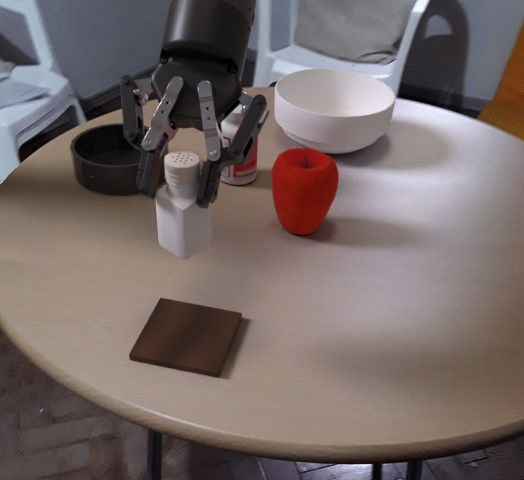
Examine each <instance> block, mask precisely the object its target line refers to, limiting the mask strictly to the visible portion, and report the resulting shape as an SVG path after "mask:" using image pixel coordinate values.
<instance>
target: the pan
mask: <svg viewBox="0 0 524 480" xmlns="http://www.w3.org/2000/svg"><path fill="white" fill-rule="evenodd" d="M149 128H150V126H147V125H144V133H145V135H146V133H147V131H148V130H149ZM69 150H70V157H71V162H72V168H73V173H74V175H75V179H76V181H77V182H78V184H79V185H80V186H82V188H84V189H87V190H88V191H91V192H94V193H97V194H101V195H106V196H131V195H138V194H141V190H140V189H139V188H138V187H137V182H136V180H137V175H138V171H139V165H140V160H141V151H140V150H137V149H135V148H134V147H133V146H132V145H131V144H130V143H129V142H128V141H127V140H126V139H125V137H124V129H123V122H121V123H120V122H113V123H106V124H100V125H97V126H93V127H90V128H87V129H85V130H83V131H81V132H79V133H78V134H76V136H74V137H73V138H72V140H71V142H70V145H69ZM168 153H170V152H169V144H168V145H167V147H166V148H165V150H164V152H163V154H162V156H161V157H160V160H161V161H162V165H161V170H160V175H159V180H158V185H157V188H158V187H159V186H161V185H163V183H164V182H166V180H165V165H164V159H165V156H166V155H167V154H168Z"/></svg>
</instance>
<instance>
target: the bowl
mask: <svg viewBox="0 0 524 480" xmlns="http://www.w3.org/2000/svg"><path fill="white" fill-rule="evenodd" d="M396 98H397V97H396V95H395V91H394V90H393V88H392V87H390V86H389V85H388V84H387V83H385V82H384V81H382V80H380V79H378V78H377V77H374V76H371V75H369V74H366V73H362V72H358V71H353V70H347V69H341V68H330V67H329V68H328V67H327V68H325V67H324V68H317V67H316V68H308V69H307V68H306V69H301V70H296V71H293V72H289V73H287V74H286V75H284V76H282V77H281V78H279V79H278V80H277V81H276V84H275V85H274V120H275V121H276V123H277V124H278V125H279V126H280V127H281V129H282V131H283V133H284V134H285V135H286V136H287V137H289V138H290V139H292V140H293V141H294V142H296V143H297V144H298V145H300V146H302V147H303V148H307V149H313V150H317V151H320V152H322V153H324V154H334V155H335V154H336V155H338V154H339V155H340V154H348V153H349V154H350V153H353V152H357V151H358V150H361V149H364V148H366V147H368V146H370V145H372V144H374V143H375V142H377V140H379V138H381V137H382V136H384V135H385V134H386V133H387V132H388V130H389V129H390V125H391V121H392V118H393V114H394V109H395V105H396V100H397V99H396Z"/></svg>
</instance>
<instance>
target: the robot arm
mask: <svg viewBox="0 0 524 480" xmlns="http://www.w3.org/2000/svg"><path fill="white" fill-rule="evenodd" d="M256 6H257V0H169V5H168V10H167V17H166V21H165V25H164V31H163V37H162V40H161V45H160V46H161V47H160V51H159V61H158V63H157V65H156V68H155V69H154V70H153V71H152V73H151V75H150V77H144V78H138V79H137V78H136V79H134V78H133V77H132V76H131V75H129V74H125V75H123V76H122V77H120V79H119V80H120V81H119V87H120V88H119V89H120V101H121V112H122V113H121V115H122V123H123V129H124V137H125V139H126V140H127V141H128V142H129V143H130V144H131V145H132V146H133V147H134V148H135V149H137V150H140V151H141V160H140V165H139V171H138V175H137V180H136V182H137V187H138V188H139V189H140V190H141V193H140V194H141V196H143V197H144V198H145V199H148V200H155V199H156V197H155V195H156V193H157V191H158V190H157V189H158V187H157V185H158V180H159V175H160V170H161V165H162V161H161V160H160V157H161V156H162V154H163V152H164V150H165V148H166V147H167V145H168V146H169V143H170V142H171V140H173V139H174V138H175V137H176V135H177V133H178V131H179V129H195V130H197V131H199V132H203V135H204V139H205V140H204V141H205V142H204V143H205V151H206V161H205V160H202V166H201V169H200V180H199V185H198V190H197V195H196V204H197V205H198V206H199V207H200V208H205V209H207V208H208V206H209V203H211V204H215V202H216V200H217V199H218V195H219V187H220V184H221V180H220V178H221V173H222V170H223V169H224V168H225V167H227V166H230V165H236V166H241V165H243V164H244V163H245V161H246V159H247V157H248V155H249V153H250V151H251V149H252V147H253V145H254V143H255V141H256V139H257V137H258V138H259V135H260V133H261V131H262V129H263V127H264V125H265V123H266V121H267V119H268V117H269V115H270V108H269V104H268V101H267V98H266V96H265V95H263V94H261V93H258V94H256V95H254V94H251V93H249V92H247V91H245V90H244V89H243V85H242V77H243V73H244V68H245V62H246V57H247V52H248V47H249V42H250V37H251V31H252V28H253V26H254V22H255V17H256V13H255V11H256ZM152 93H153V94H154V96H155V98H156V100H157V102H158V105H157V108H156V109H155V111H154V113H153V115H152V117H151V120H150V125H149V127H150V128H149V130H148V131H147V133H146V135H145V133H144V126H145V121H144V109H143V106H146V105H147V103H148V102H149V96H150V95H151V94H152ZM239 105H242V108H241V115H242V117H243V120H242V122H241V124H240V126H239V128H238V130H237V132H236V134H235V136H234V138H233V140H232V142H231V144H230V146H229V147H224V146H223V144H224V139H223V131H222V121H223V120H224V119H225V118H226V117H227V116H228V115H229V114H230V113H231V112H232V111H233V110H234V109H235V108H237V107H238V106H239Z"/></svg>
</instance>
